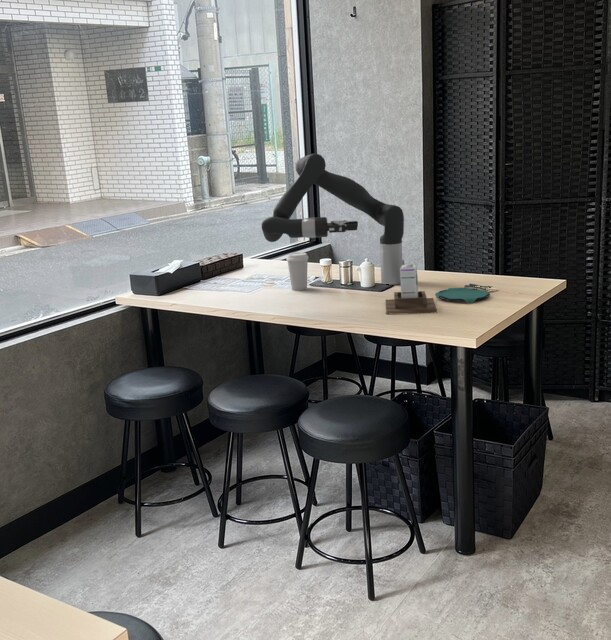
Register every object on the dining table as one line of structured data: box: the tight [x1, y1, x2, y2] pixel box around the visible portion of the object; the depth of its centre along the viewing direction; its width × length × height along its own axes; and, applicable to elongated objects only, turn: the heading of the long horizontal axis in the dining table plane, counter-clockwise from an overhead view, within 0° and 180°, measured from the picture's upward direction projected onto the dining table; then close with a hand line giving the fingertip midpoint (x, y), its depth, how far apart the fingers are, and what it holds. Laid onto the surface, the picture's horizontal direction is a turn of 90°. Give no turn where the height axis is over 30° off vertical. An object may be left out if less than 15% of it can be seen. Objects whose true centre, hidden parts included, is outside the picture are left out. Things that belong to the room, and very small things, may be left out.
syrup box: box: [400, 264, 419, 298], centre depth 285 cm, size 6×6×14 cm
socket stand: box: [385, 290, 438, 315], centre depth 286 cm, size 18×18×5 cm
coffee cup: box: [285, 252, 309, 291], centre depth 328 cm, size 10×10×15 cm
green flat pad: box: [434, 283, 493, 304], centre depth 301 cm, size 20×30×2 cm, turn 138°
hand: (357, 225), depth 291 cm, fingers open, 8 cm apart
